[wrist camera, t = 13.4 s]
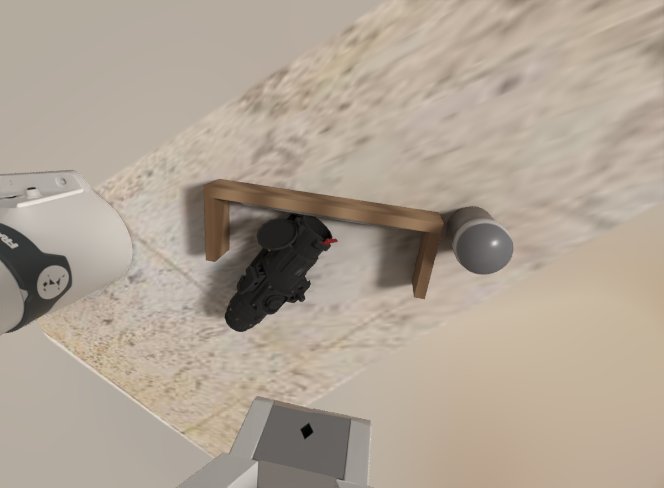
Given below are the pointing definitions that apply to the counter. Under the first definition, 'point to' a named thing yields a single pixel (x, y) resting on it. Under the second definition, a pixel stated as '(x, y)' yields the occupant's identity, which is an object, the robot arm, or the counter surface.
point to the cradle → (323, 207)
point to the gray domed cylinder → (479, 241)
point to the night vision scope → (278, 269)
